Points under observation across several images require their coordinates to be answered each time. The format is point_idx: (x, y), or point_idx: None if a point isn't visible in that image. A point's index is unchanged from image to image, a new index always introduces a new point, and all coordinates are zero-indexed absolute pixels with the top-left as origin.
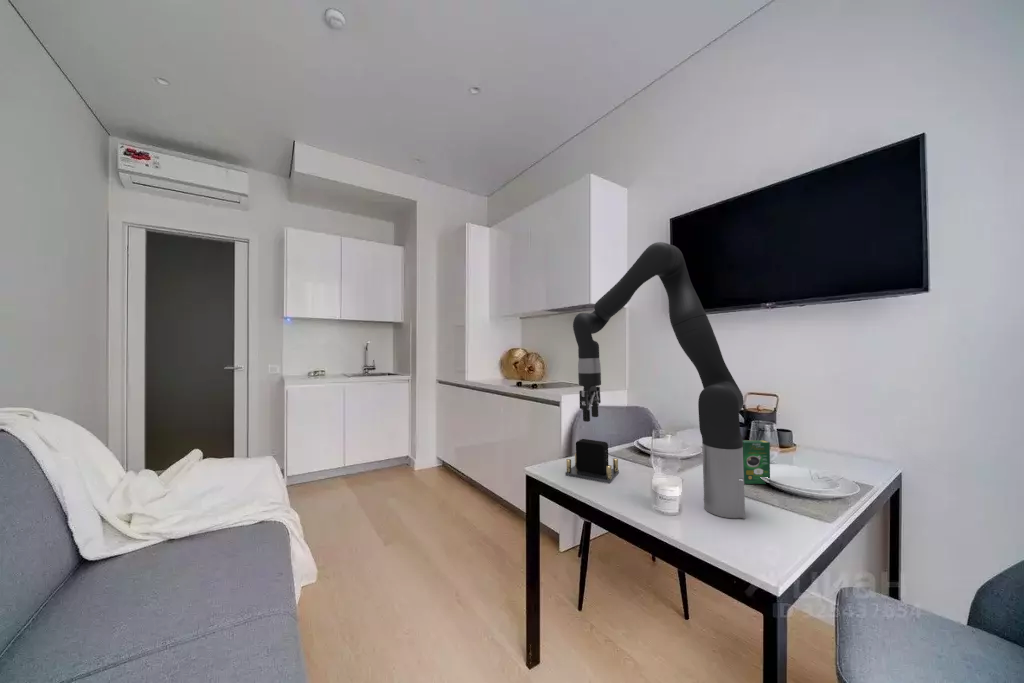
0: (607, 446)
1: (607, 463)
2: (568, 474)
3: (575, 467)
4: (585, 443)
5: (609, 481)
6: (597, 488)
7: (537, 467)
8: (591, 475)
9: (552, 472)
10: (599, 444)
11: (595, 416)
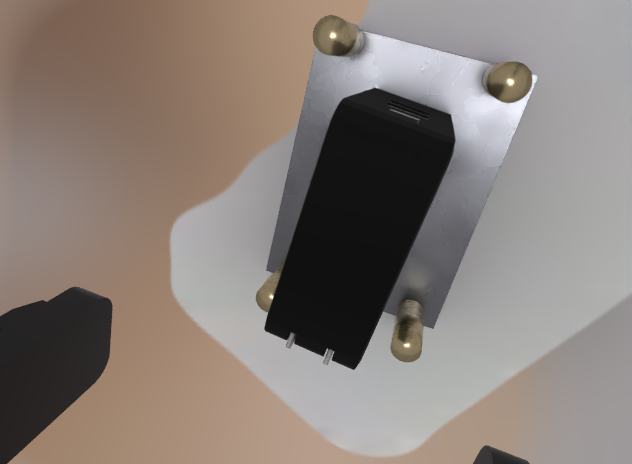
0: (358, 102)
1: (387, 96)
2: (439, 310)
3: None
4: (385, 302)
5: (535, 75)
6: (628, 147)
7: (338, 439)
8: (460, 190)
9: (395, 378)
10: (437, 183)
11: (103, 327)
